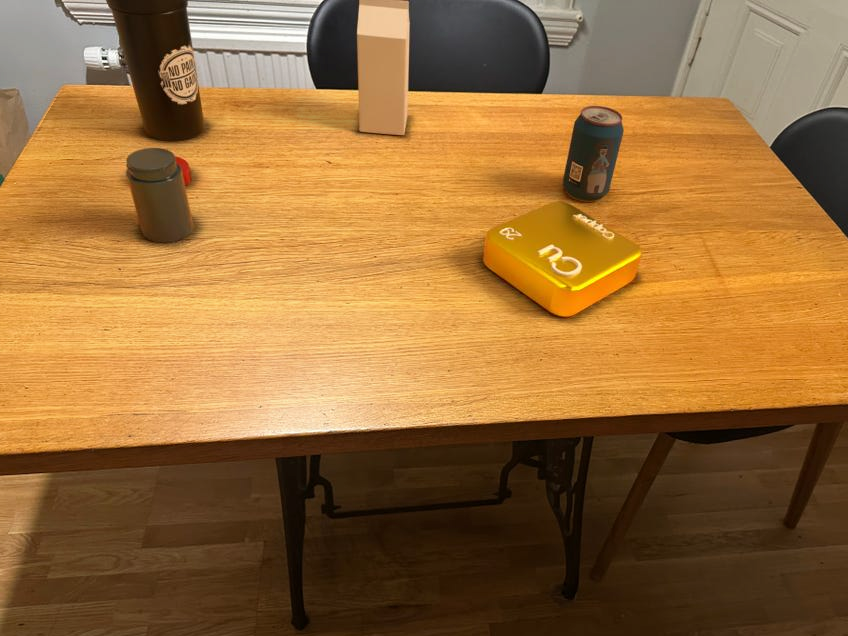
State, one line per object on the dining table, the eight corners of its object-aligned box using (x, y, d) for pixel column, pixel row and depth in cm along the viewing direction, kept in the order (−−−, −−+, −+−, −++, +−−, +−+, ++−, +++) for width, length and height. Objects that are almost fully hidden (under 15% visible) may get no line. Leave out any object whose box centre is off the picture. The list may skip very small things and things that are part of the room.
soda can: (581, 176, 107) (597, 99, 99) (616, 195, 104) (636, 117, 96) (551, 189, 103) (566, 110, 95) (587, 209, 100) (606, 130, 92)
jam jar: (135, 241, 84) (114, 168, 78) (151, 214, 89) (132, 144, 82) (186, 244, 85) (169, 173, 78) (199, 218, 89) (185, 148, 83)
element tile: (640, 277, 89) (650, 246, 85) (562, 323, 81) (570, 290, 77) (555, 224, 96) (561, 193, 93) (475, 261, 88) (479, 228, 85)
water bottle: (173, 150, 101) (134, -24, 85) (123, 129, 104) (77, -43, 88) (225, 127, 108) (198, -39, 92) (177, 107, 111) (143, -56, 95)
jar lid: (202, 178, 96) (199, 165, 95) (165, 197, 92) (162, 184, 91) (167, 163, 98) (164, 150, 97) (129, 181, 94) (126, 168, 93)
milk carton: (404, 136, 111) (406, 9, 98) (359, 132, 110) (356, 4, 98) (407, 117, 116) (410, -6, 103) (364, 113, 116) (362, -11, 103)
